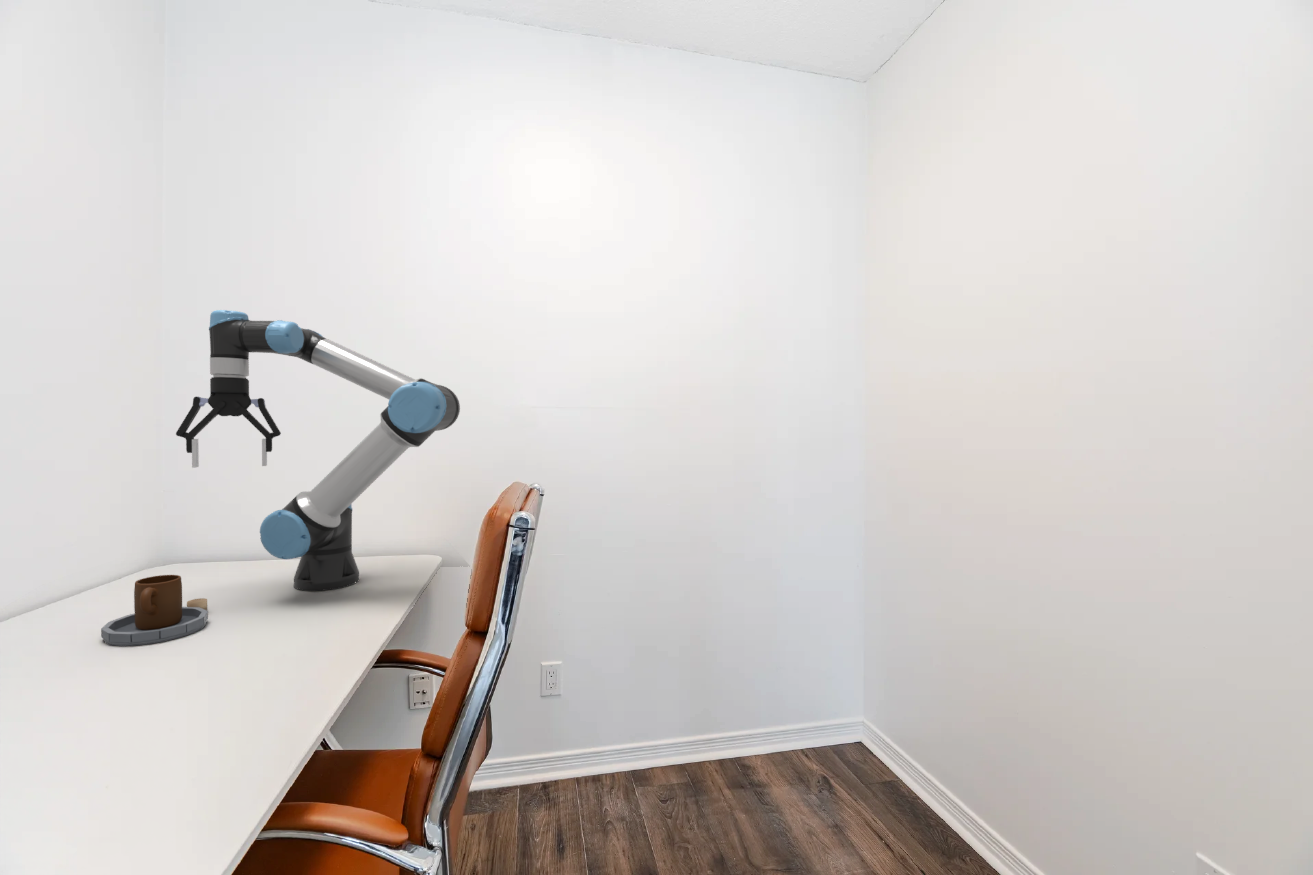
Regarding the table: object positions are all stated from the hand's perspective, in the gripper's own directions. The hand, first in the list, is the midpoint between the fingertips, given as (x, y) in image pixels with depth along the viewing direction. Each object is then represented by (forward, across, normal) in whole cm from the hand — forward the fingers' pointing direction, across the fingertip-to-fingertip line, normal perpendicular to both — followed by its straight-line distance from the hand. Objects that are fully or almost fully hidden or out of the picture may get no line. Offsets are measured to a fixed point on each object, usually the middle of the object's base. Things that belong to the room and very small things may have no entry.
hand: (230, 466), depth 144 cm
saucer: (+32, +10, +20) cm, 39 cm away
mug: (+31, +10, +20) cm, 39 cm away
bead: (+32, +5, +10) cm, 34 cm away
